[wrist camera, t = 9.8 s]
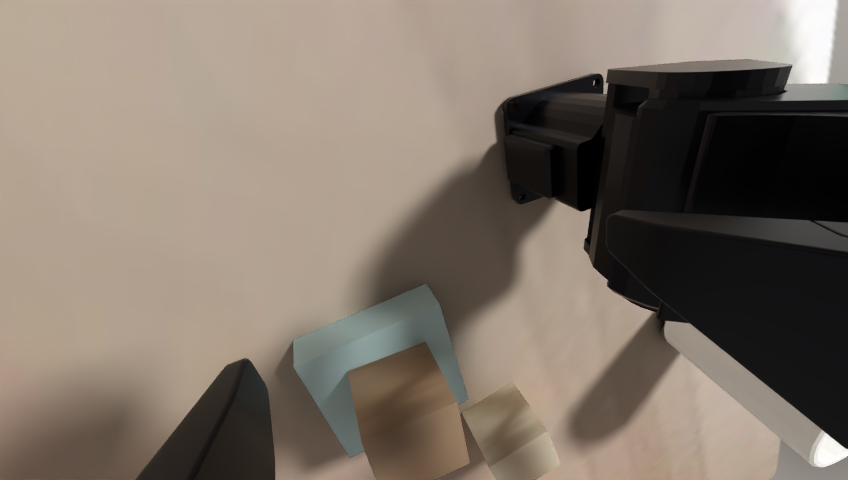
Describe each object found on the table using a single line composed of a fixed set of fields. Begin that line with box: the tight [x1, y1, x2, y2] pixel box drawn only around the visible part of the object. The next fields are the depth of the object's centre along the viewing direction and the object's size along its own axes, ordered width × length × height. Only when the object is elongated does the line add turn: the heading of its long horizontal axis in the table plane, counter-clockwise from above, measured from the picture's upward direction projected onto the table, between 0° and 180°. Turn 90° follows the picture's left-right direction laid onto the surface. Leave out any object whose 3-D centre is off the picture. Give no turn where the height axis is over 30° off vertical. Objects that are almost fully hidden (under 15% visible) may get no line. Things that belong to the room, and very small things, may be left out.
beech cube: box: [462, 382, 560, 480], centre depth 30 cm, size 5×5×5 cm
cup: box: [660, 321, 848, 467], centre depth 29 cm, size 10×10×13 cm
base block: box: [293, 284, 469, 458], centre depth 25 cm, size 9×9×3 cm
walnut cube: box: [347, 342, 470, 480], centre depth 21 cm, size 5×5×5 cm
